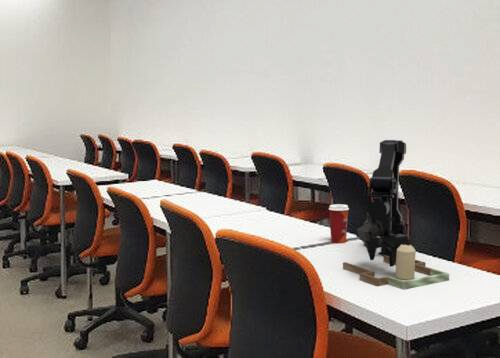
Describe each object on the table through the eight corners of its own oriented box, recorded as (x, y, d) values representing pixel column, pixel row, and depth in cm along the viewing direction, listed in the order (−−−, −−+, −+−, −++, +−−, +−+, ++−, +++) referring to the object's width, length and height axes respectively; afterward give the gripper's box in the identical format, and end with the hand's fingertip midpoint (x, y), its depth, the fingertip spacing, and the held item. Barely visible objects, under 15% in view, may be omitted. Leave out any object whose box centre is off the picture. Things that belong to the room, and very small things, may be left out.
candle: (415, 275, 198) (416, 243, 196) (413, 280, 193) (414, 248, 191) (396, 273, 199) (398, 241, 198) (394, 278, 194) (395, 246, 193)
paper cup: (350, 243, 244) (350, 206, 242) (329, 244, 244) (329, 207, 242) (347, 239, 252) (347, 203, 250) (327, 239, 252) (327, 203, 250)
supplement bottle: (373, 243, 244) (373, 211, 243) (386, 246, 239) (387, 214, 237) (360, 245, 240) (360, 213, 239) (373, 249, 235) (373, 216, 233)
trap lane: (394, 259, 218) (394, 253, 218) (458, 278, 195) (458, 271, 194) (332, 270, 205) (332, 264, 205) (393, 291, 182) (393, 284, 181)
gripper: (343, 212, 207) (342, 260, 209) (382, 221, 191) (382, 273, 193) (370, 209, 212) (369, 256, 214) (411, 217, 196) (410, 268, 198)
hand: (381, 263), depth 205 cm, fingers open, 9 cm apart
